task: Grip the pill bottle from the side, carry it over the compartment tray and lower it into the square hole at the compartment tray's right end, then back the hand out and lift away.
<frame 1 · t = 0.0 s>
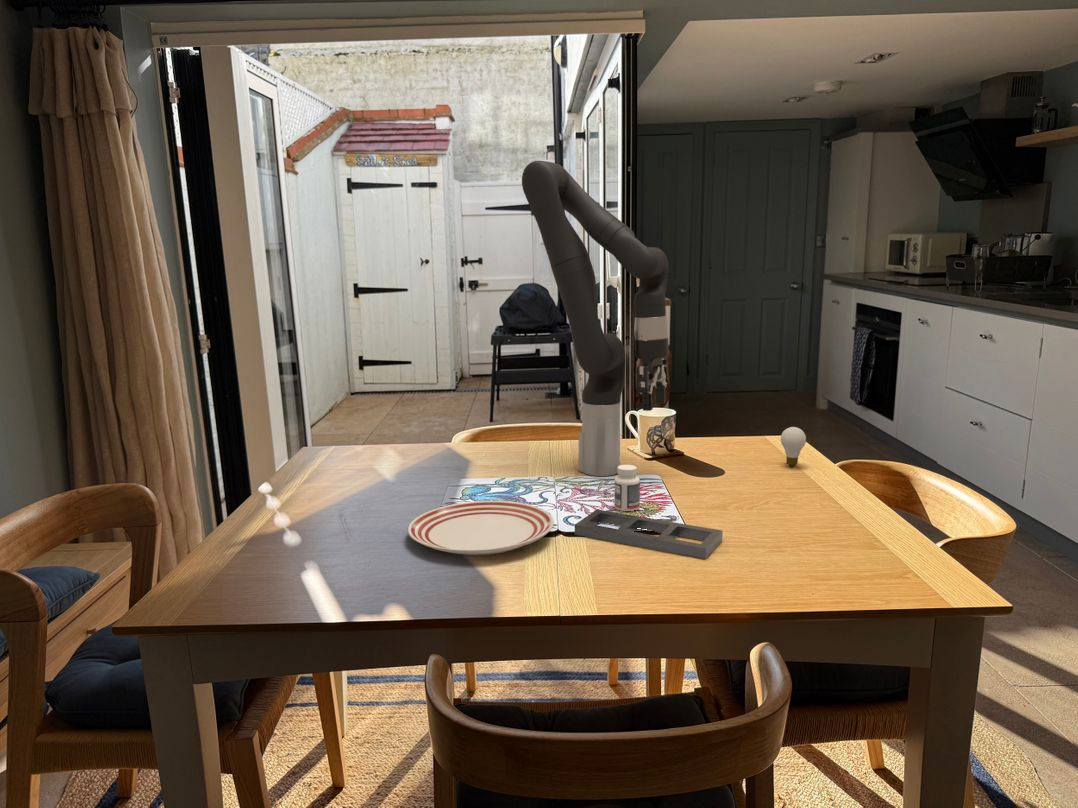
hand: (654, 406, 182), 17 cm above the table, tool pointing down, fingers open, 8 cm apart
light bulb: (791, 467, 194), on the table
compartment tray: (647, 537, 149), on the table
dinner plate: (481, 538, 150), on the table
pill bottle: (626, 508, 166), on the table
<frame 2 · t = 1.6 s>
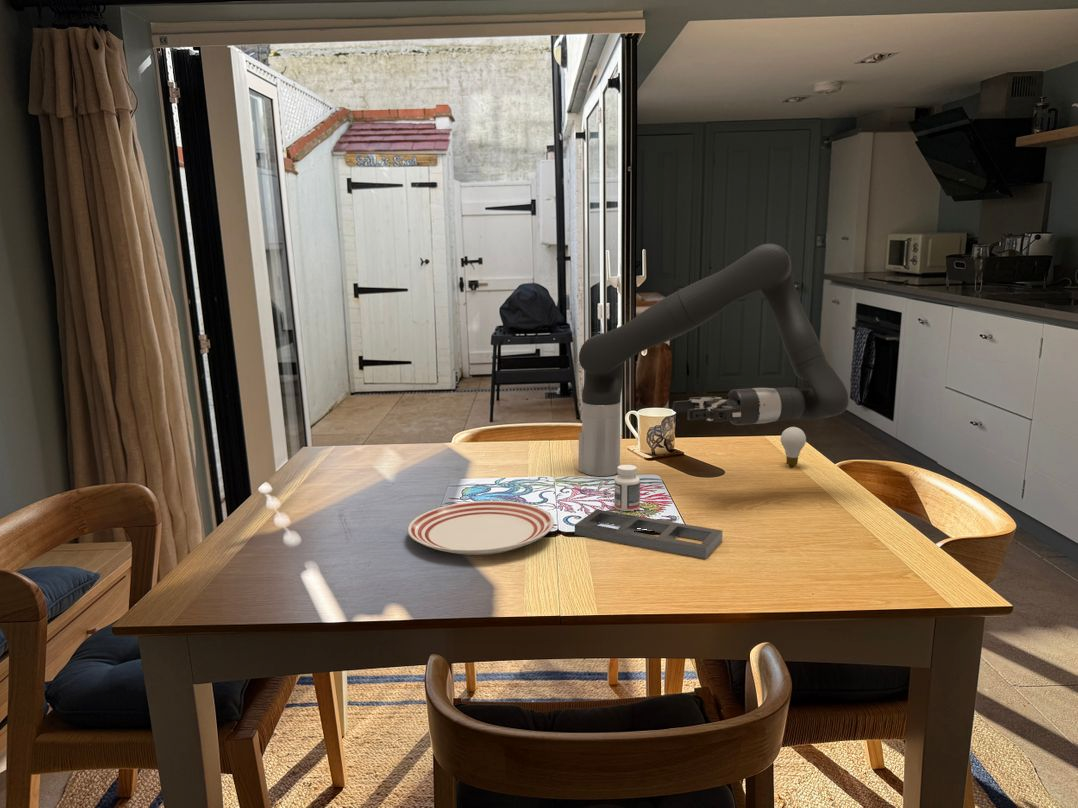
hand: (680, 410, 164), 20 cm above the table, tool horizontal, fingers open, 8 cm apart
nothing on the table moved.
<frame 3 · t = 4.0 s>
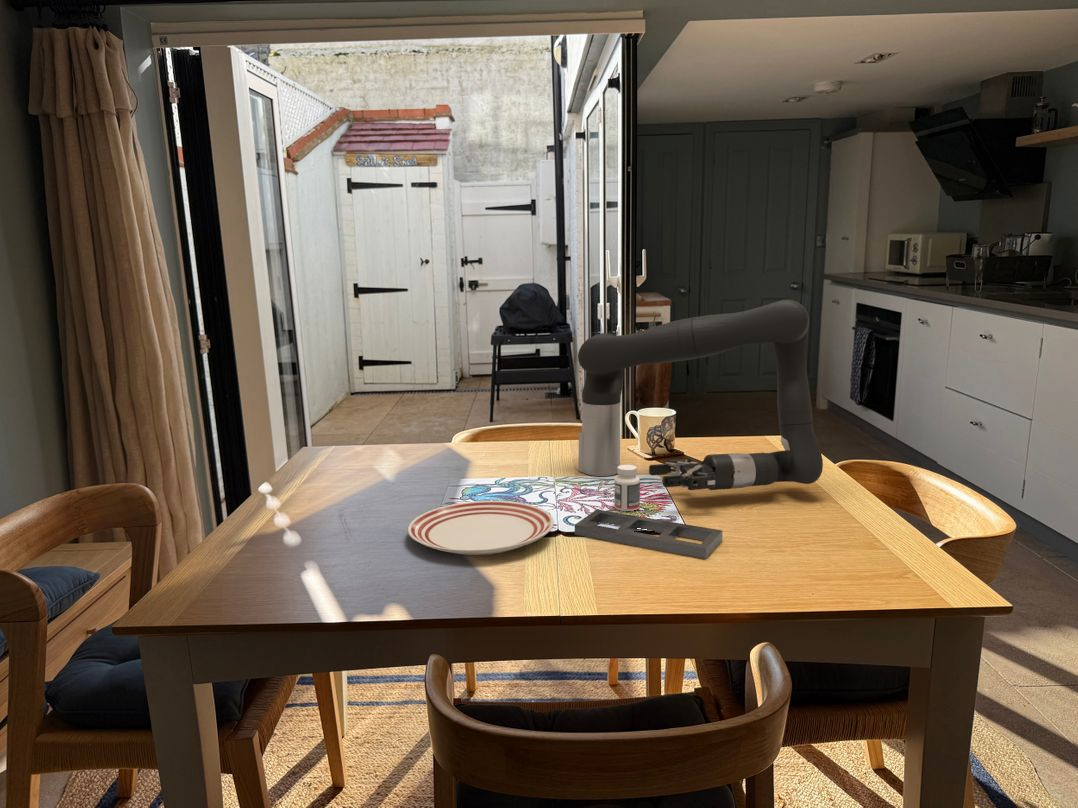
hand: (656, 475, 165), 7 cm above the table, tool horizontal, fingers open, 8 cm apart
nothing on the table moved.
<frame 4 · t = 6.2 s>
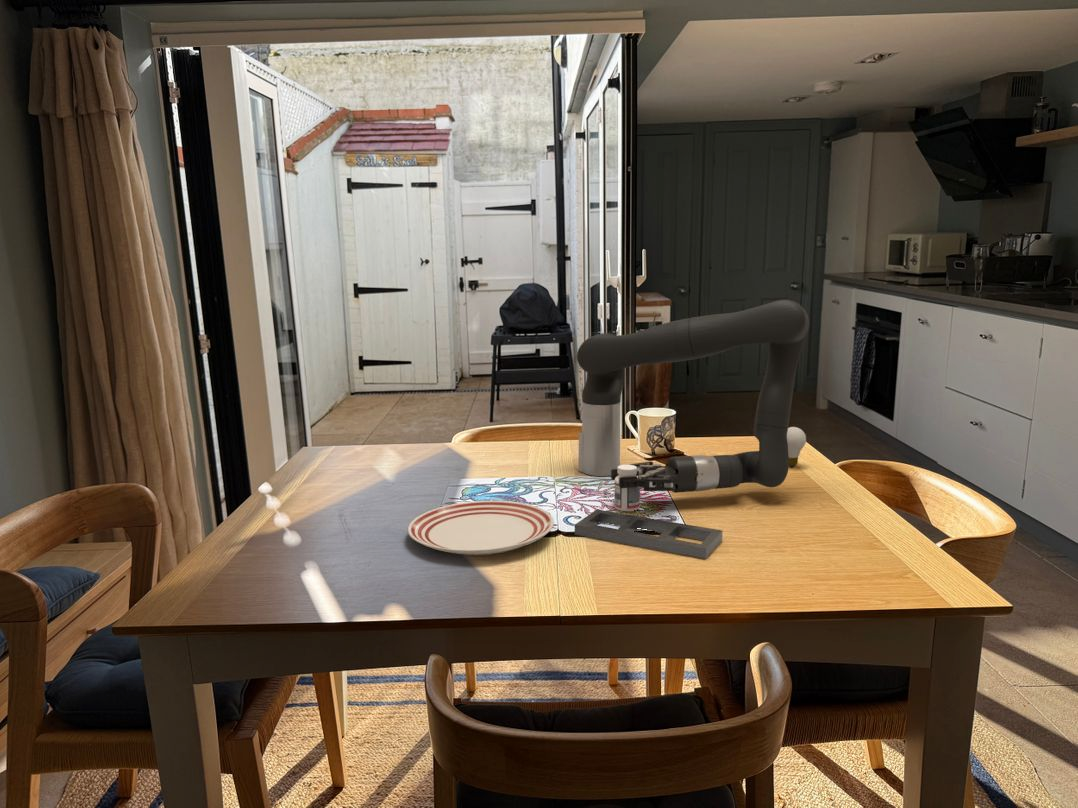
hand: (615, 478, 164), 7 cm above the table, tool horizontal, fingers closed on pill bottle, 5 cm apart
pill bottle: (626, 508, 166), on the table, touching gripper
everything else where it was.
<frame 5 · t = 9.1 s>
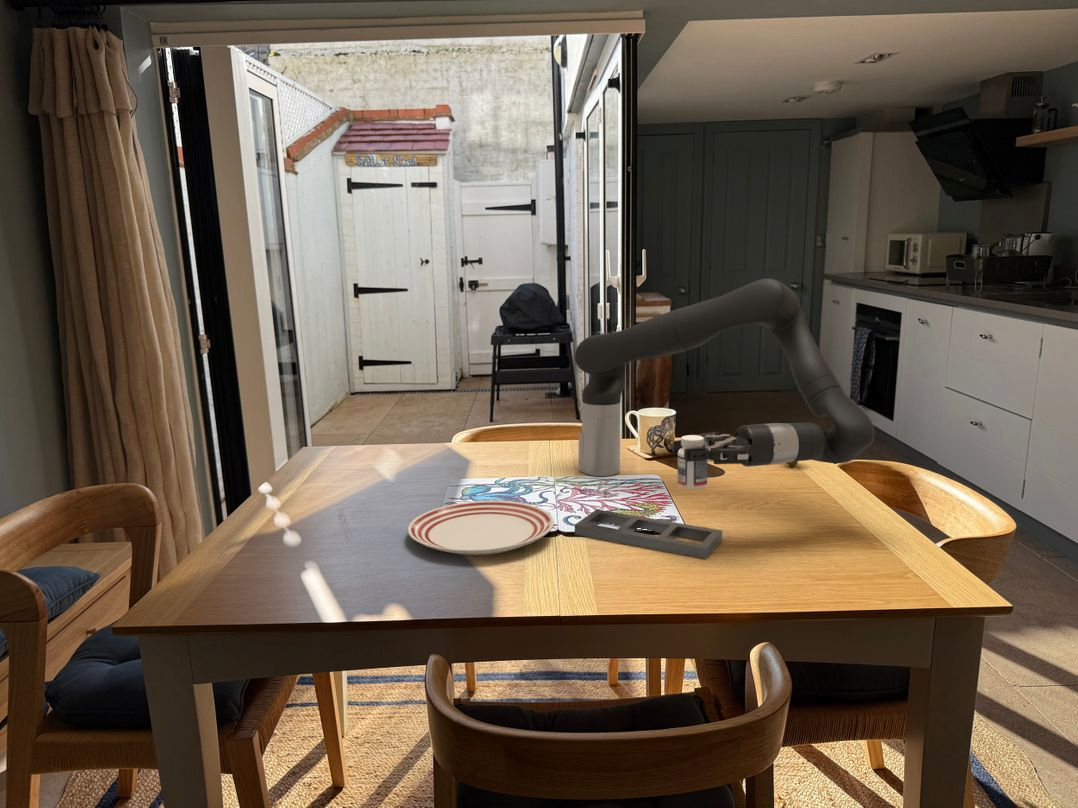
hand: (679, 451, 141), 18 cm above the table, tool horizontal, fingers closed on pill bottle, 5 cm apart
pill bottle: (692, 486, 143), point 11 cm above the table, touching gripper
everything else where it was.
when the fingers open (8 cm above the table, at t = 12.0 s): pill bottle drops 1 cm, resting in compartment tray.
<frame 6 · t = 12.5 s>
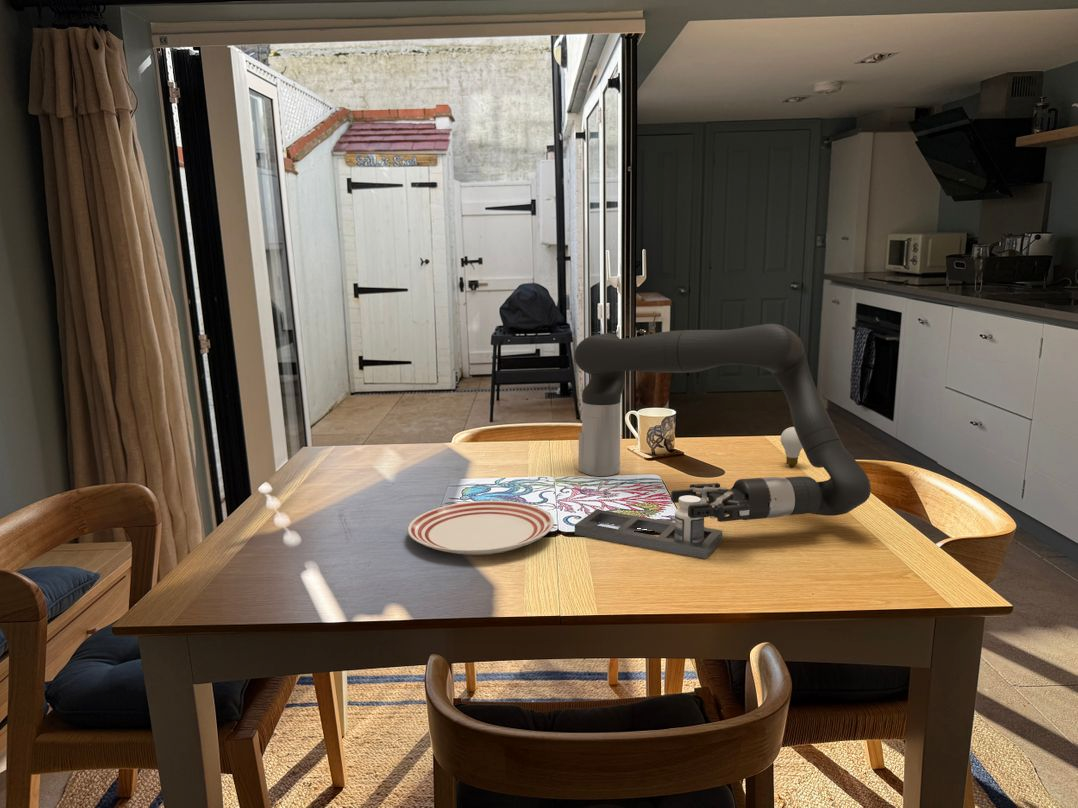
hand: (679, 504, 143), 8 cm above the table, tool horizontal, fingers open, 8 cm apart
pill bottle: (688, 545, 145), resting in compartment tray
everything else where it was.
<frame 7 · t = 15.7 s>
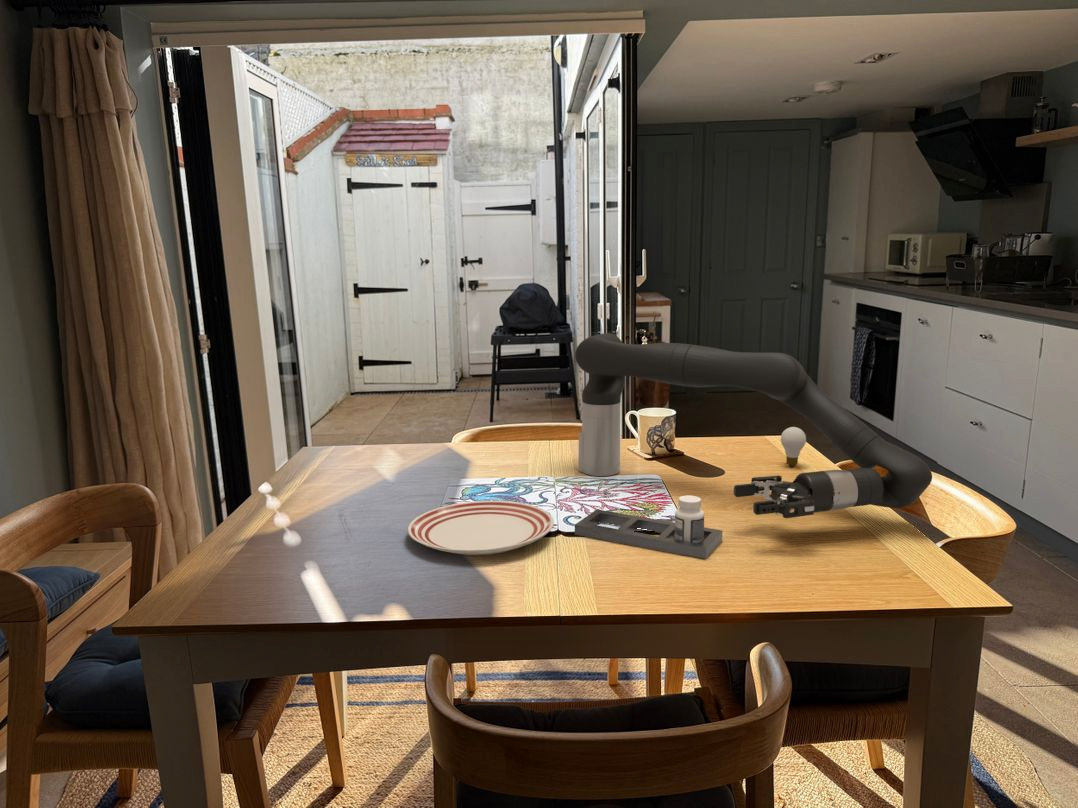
hand: (744, 499, 145), 8 cm above the table, tool horizontal, fingers open, 8 cm apart
nothing on the table moved.
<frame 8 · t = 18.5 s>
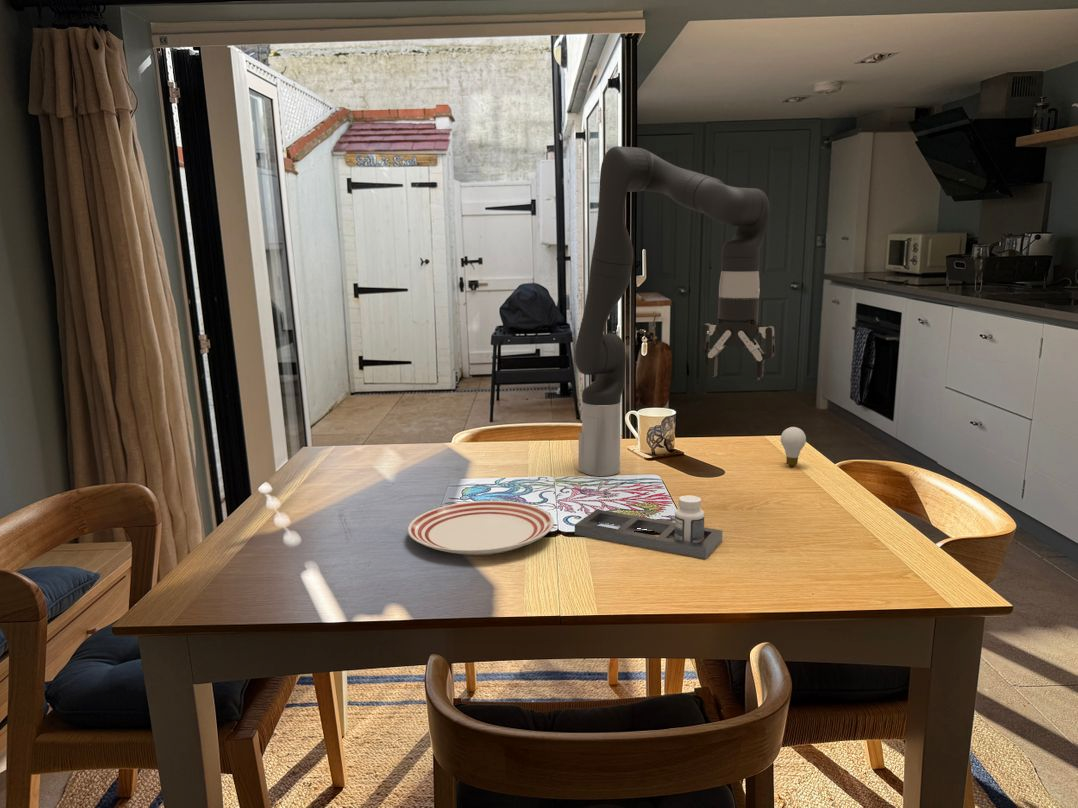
hand: (735, 378, 156), 28 cm above the table, tool pointing down, fingers open, 8 cm apart
nothing on the table moved.
at the end: pill bottle 0.2 cm from the target spot on the compartment tray, point 0.0 cm above the compartment tray's base; pill bottle tilted 0°; the gripper is holding nothing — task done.
